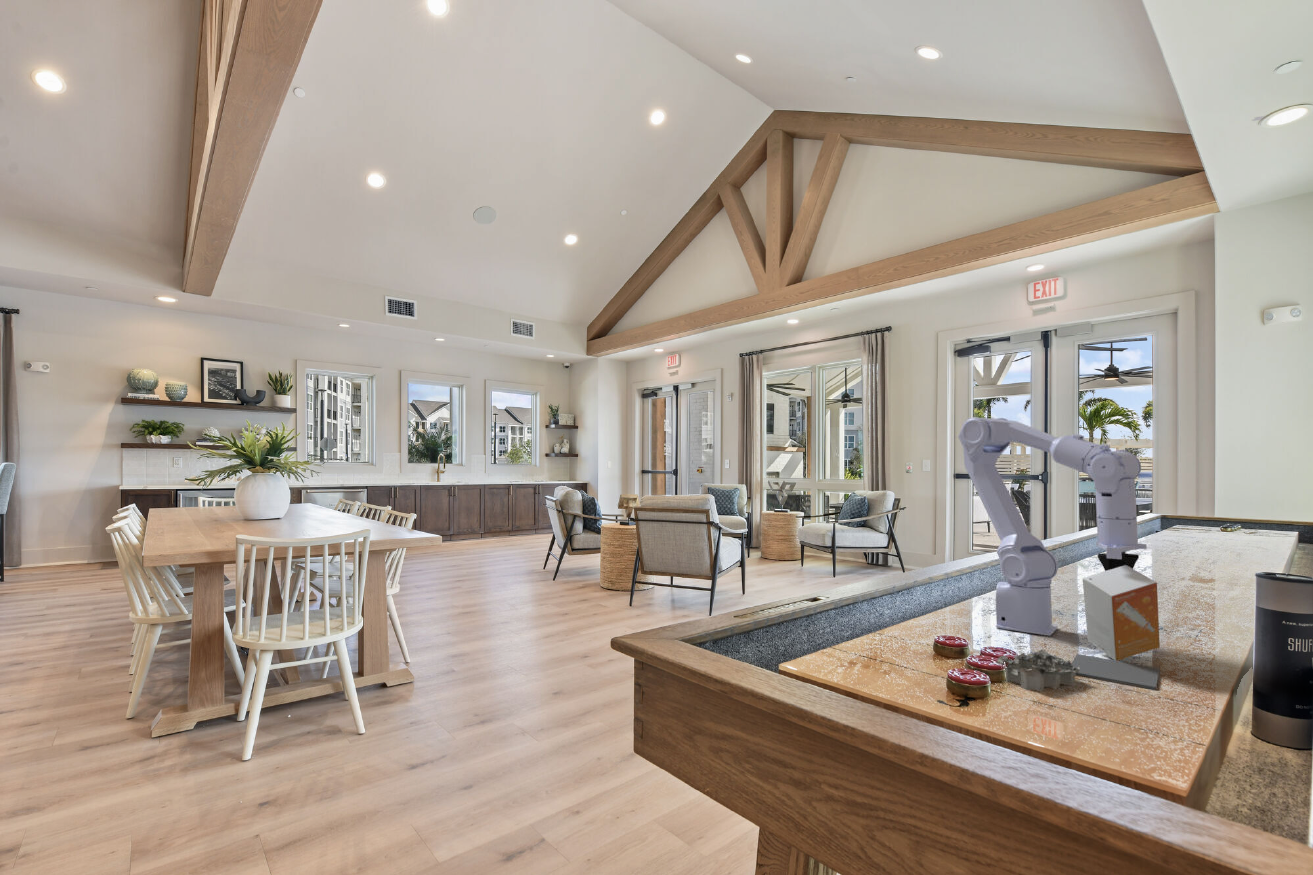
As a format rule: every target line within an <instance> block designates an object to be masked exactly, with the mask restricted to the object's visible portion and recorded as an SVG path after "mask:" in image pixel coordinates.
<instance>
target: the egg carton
mask: <svg viewBox="0 0 1313 875" xmlns="http://www.w3.org/2000/svg"><path fill="white" fill-rule="evenodd" d="M1014 656H1015V657H1013V658H1015V659H1014V660H1012V659H1010V658H1009V659H1008V657H1009V656H1005V655H1001V656H999V657H998V658H997V660H996V662H995V663H996V664H997V663H998V664H997V665H1001V667H1002V666H1003V665H1004V662H1008V667H1007V668H1005V667H1004V668H1005V672H1006V681H1005V682H1006V683H1016V684H1020V687H1021V688H1022V689H1024V690H1034V691H1038V692H1039V691H1042V692H1043V691H1044V690H1045V688H1046V687H1047V688H1053V689H1057V688H1060V687H1061V686H1060V685H1068V686H1076V685H1077V683H1076V676H1077V675H1076V673H1075V672H1077V673H1079V669H1080V668H1081V667H1080V666H1077V668H1076V667H1074V666H1073V665H1072V664H1071V663H1072V662H1071V661H1070V660H1064V659H1063V658H1061V657H1058V656H1057V655H1056V654H1054V655H1052V654H1051V653H1049V652H1047V651H1046V650H1044V649H1040V650H1038V651H1035V652H1032V653H1027V654H1025V653H1024V652H1023V653H1020V654H1019V655H1014ZM1044 687H1045V688H1044Z"/></svg>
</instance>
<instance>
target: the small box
mask: <svg viewBox="0 0 1313 875" xmlns="http://www.w3.org/2000/svg"><path fill="white" fill-rule="evenodd" d="M1082 588H1083V597H1084V598H1083V599H1084V602H1083V603H1084V611H1085V613H1084V614H1085V625H1086V634H1087V635H1086V636H1087V641H1088V642H1089V643H1090V644H1092V645H1093V646H1094V647H1096V648H1097V649H1099V650H1100V651H1102V653H1104V654H1106V655H1107V656H1108V657H1109V658H1111V660H1115V661H1121V660H1124V659H1126V658H1130V657H1132V656H1136V655H1140V654H1143V653H1145V652H1148V651H1152V650H1156V649H1160V624H1159V620H1160V619H1159V601H1158V600H1159V599H1158V582H1157V581H1156V580H1154V579H1152V578H1150V577H1148V576H1146V575H1145V574H1143V573H1141V572H1139V571H1137V570H1136V569H1134V568H1133V569H1132V568H1130V567H1129V566H1127V565H1124V566H1121V567H1118V568H1114V569H1111V570H1107V571H1105V570H1104V571H1101V572H1098V573H1096V574H1093V575H1089V576H1087V577H1083V578H1082Z"/></svg>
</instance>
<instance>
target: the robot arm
mask: <svg viewBox="0 0 1313 875" xmlns="http://www.w3.org/2000/svg"><path fill="white" fill-rule="evenodd" d="M1084 438H1085V436H1084V435H1082V434H1078V433H1077V434H1076V433H1074V434H1066V435H1063V436H1061V437H1057V436H1054V435H1052V434H1050V433H1047V432H1045V431H1042V430H1040V429H1036V428H1034V427H1031V426H1030V425H1027V424H1024V423H1021V422H1019V421H1016V420H1012V419H1011V420H1010V419H1009V420H1008V419H1006V418H1003V417H999V418H984V417H977V416H975V417H973V416H972V417H969V418H968V419H967V420H966V421H965V422H964V423H963V424H962V427H961V429H960V432H959V434H958V439H959V442H960V444H961V446H962V450H963V451H962V452H963V461H964V463H963V464H964V468H965V469H966V472H967V474H968V477H969V478H970V480H971V483H973V486H974V488H975V490H976V492H977V494H978V496H979V499H980V501H981V502H982V505H983V507H984V509H985V511H986V513H987V515H988V517H989V519H990V522H991V523H992V526H993V527H994V529H995V532H996V533H997V536H998V538H999V540H1000V544H999V546H997V550H996V554H997V556H998V559H999V568H1000V572H1001V573H1002V576H1003V577H1004V579H1006V581H998V582H997V584H996V587H995V612H996V613H995V614H996V617H995V618H996V625H995V628H997V629H1002V630H1008V631H1009V630H1010V631H1013V632H1014V631H1016V632H1022V633H1029V634H1034V635H1035V634H1036V635H1042V636H1052V635H1053V634H1054V632H1056V630H1058V625H1057V624H1053V616H1052V615H1053V614H1052V610H1053V609H1052V589H1051V587H1052V579H1053V578H1054V577H1056V575H1057V572H1058V570H1059V564H1058V562H1057V558H1056V557H1055V556H1054V554H1052V553H1051V552H1050V551H1049V550H1048V549H1047V548H1046V547H1045V545H1044V543H1043V542H1042V541H1041V539H1039V538H1037V537H1036V536H1034V535H1033V534H1032V533H1030V531H1029V530H1028V528H1027V526H1026V524H1025V521H1024V519H1023V518H1022V515H1021V513H1020V511H1019V510H1018V508H1017V506H1016V503H1015V502H1014V500H1013V498H1012V496H1011V494H1010V491H1009V490H1008V488H1007V487H1006V485H1005V482H1004V480H1003V478H1002V476H1001V475H1000V473H999V470H998V468H997V466H996V463H997V461H998V459H999V458H1000V457H1001V456H1002V455H1003V453H1004V452H1005V451H1006V450H1007V448H1008V447H1009V446H1010V445H1011V444H1012V443H1018V444H1021V445H1024V446H1025V445H1026V446H1028V447H1031V448H1035V449H1038V450H1039V451H1043V452H1047V453H1050V455H1051V457H1052V459H1053V461H1054V462H1055V463H1057V464H1060V465H1062V466H1065V467H1067V468H1071V469H1073V470H1075V471H1078V472H1080V473H1083V474H1086V475H1088V476H1089V477H1090V478H1091V479H1092V481H1093V482H1094V489H1095V506H1096V507H1095V508H1096V510H1095V511H1096V528H1097V529H1096V530H1097V531H1096V532H1097V541H1096V547H1098V548H1099V549H1102V550H1104V551H1106V553H1098V554H1097V558H1098V561H1099V562H1100V563H1101V565H1102V567H1103V569H1104V571H1107V570H1111V569H1114V568H1118V567H1121V566H1124V565H1127V566H1129V567H1130V568H1132V569H1134V568H1135V566H1136V563H1137V561H1138V559H1139V558H1140V557H1139V556H1140V555H1139V554H1136V553H1127V552H1128V551H1130V552H1131V551H1136V550H1146V549H1147V548H1148V545H1147V544H1146V543H1145V544H1144V543H1139V541H1138V540H1139V538H1138V518H1137V517H1138V516H1137V514H1138V513H1137V496H1136V479H1137V478H1138V477H1139V475H1140V474H1141V471H1142V464H1141V461H1140V459H1139V458H1138V456H1136V455H1135V454H1133V453H1131V452H1129V451H1128V450H1126V449H1118V450H1112V449H1111V446H1110V445H1108V444H1105V443H1101V444H1098V443H1095V442H1092V441H1089V440H1087V439H1084Z"/></svg>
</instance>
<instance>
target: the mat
mask: <svg viewBox="0 0 1313 875" xmlns="http://www.w3.org/2000/svg"><path fill="white" fill-rule="evenodd" d="M1071 664H1072V665H1073V666H1074V667H1076V668H1077V666H1080V667H1081V668H1080V669H1079V673H1077V672H1075V673H1076V675H1075V676H1078V677H1079V676H1080V677H1085V678H1091V679H1094V680H1095V679H1096V680H1101V681H1106V682H1112V683H1116V684H1123V685H1126V686H1127V685H1128V686H1133V687H1139V688H1142V689H1144V688H1145V689H1149V690H1153V691H1154V690H1155V691H1157V687H1158V682H1159V676H1160V672H1161V669H1160V667H1157V666H1150V665H1144V664H1140V663H1139V664H1138V663H1133V662H1128V661H1127V662H1126V661H1121V660H1119V661H1115V660H1114V659H1108V658H1104V657H1097V656H1091V655H1085V654H1078V653H1077V654H1076V655H1075V657H1074V658H1073V660H1072V662H1071Z"/></svg>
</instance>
